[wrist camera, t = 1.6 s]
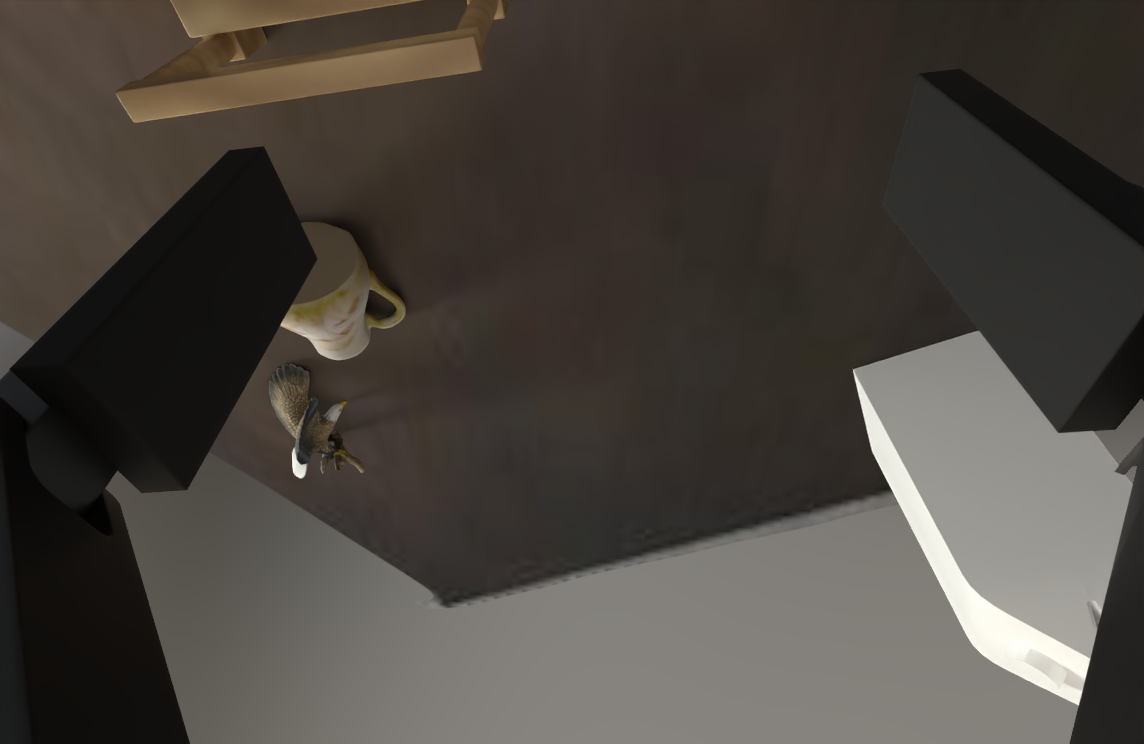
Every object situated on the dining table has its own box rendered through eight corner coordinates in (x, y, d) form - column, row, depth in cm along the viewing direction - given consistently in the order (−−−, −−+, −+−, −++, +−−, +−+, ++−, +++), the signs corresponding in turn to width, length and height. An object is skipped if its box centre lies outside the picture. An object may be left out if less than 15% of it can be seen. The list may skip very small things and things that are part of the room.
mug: (314, 339, 46) (218, 372, 36) (323, 212, 43) (221, 212, 33) (404, 361, 45) (329, 401, 35) (418, 233, 42) (341, 239, 32)
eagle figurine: (394, 433, 52) (334, 378, 44) (342, 504, 49) (270, 457, 42) (337, 406, 55) (274, 351, 48) (286, 471, 52) (211, 422, 45)
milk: (1009, 414, 52) (1257, 759, 33) (872, 451, 55) (1025, 781, 37) (1011, 319, 44) (1333, 697, 26) (852, 369, 48) (1032, 731, 29)
